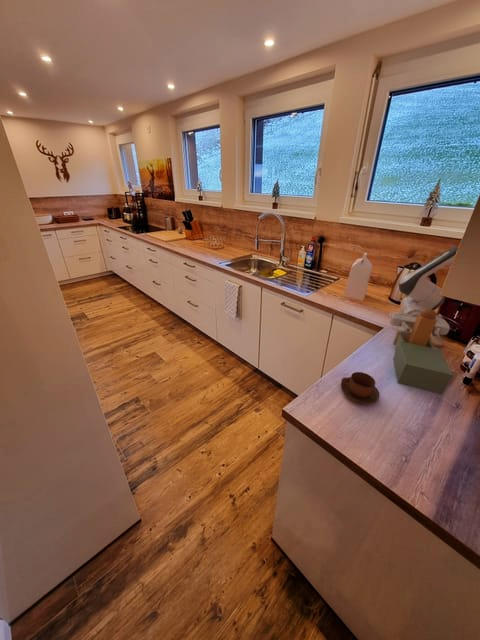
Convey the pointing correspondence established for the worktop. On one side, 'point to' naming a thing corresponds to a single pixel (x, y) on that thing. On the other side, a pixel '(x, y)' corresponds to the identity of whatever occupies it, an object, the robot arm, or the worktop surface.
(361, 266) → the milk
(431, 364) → the green box
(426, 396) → the worktop surface
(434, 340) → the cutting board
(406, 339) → the drawer
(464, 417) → the worktop surface
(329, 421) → the worktop surface
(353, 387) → the cup and saucer
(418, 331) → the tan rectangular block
